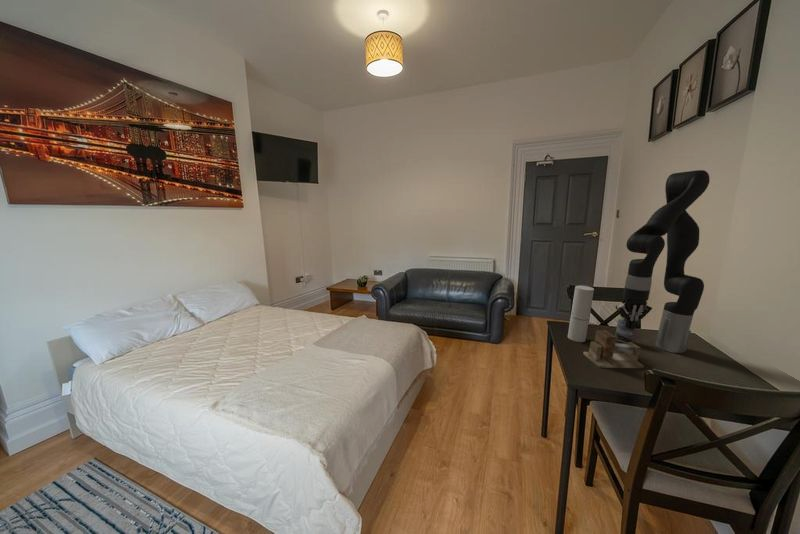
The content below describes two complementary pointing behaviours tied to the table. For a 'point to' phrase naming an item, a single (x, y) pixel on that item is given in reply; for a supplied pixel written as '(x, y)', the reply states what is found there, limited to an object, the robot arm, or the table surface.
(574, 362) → the table surface
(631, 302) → the robot arm
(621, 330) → the beverage can
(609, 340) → the brown rectangular block
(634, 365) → the pipe rack
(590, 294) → the cylindrical container
